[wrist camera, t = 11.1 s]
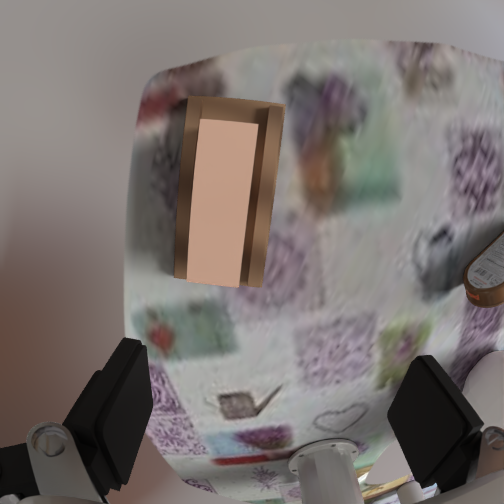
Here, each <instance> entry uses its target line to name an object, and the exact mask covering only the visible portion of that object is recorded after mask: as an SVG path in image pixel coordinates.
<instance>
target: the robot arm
mask: <svg viewBox="0 0 504 504" xmlns="http://www.w3.org/2000/svg"><path fill="white" fill-rule="evenodd" d="M152 409H153V398H152V390H151V383H150V374H149V366H148V356H147V347H146V346H145V345H142V343H141V341H140V340H136V339H131V338H123V339H122V340H121V342H120V343H119V345H118V346H117V348H116V349H115V351H114V352H113V354H112V356H111V357H110V359H109V360H108V362H107V363H106V365H105V367H104V368H103V370H102V371H101V370H98V371H96V372H95V373H94V374H93V376H92V377H91V379H90V380H89V382H88V384H87V385H86V387H85V388H84V390H83V391H82V393H81V394H80V396H79V398H78V399H77V401H76V402H75V404H74V406H73V407H72V409H71V410H70V412H69V414H68V415H67V417H66V419H65V420H64V422H63V424H62V425H61V424H59V423H55V422H43V423H40V424H38V425H36V426H34V427H33V428H32V429H31V430H30V432H29V433H28V436H27V443H23V444H18V445H14V446H9V447H4V448H0V504H109V502H108V500H107V498H106V496H105V495H107V494H108V493H109V490H110V488H111V489H114V490H117V491H120V488H121V485H122V484H124V485H126V484H127V483H128V480H129V477H130V474H131V471H132V468H133V465H134V462H135V459H136V456H137V453H138V450H139V447H140V444H141V441H142V438H143V435H144V433H145V430H146V427H147V424H148V421H149V418H150V415H151V412H152ZM387 416H388V420H389V422H390V425H391V427H392V429H393V431H394V433H395V435H396V438H397V440H398V442H399V444H400V446H401V449H402V451H403V453H404V455H405V458H406V460H407V462H408V465H409V467H410V469H411V472H412V474H413V476H414V479H415V481H416V482H417V483H419V484H420V486H421V489H423V488H426V487H429V486H432V485H434V484H435V483H437V489H436V492H435V494H434V497H431V498H428V499H425V500H422V501H419V502H416V503H413V504H504V430H503V429H502V428H500V427H497V426H489V427H487V428H486V429H485V430H484V431H483V432H481V430H480V429H481V428H482V427H483V425H484V422H483V421H482V420H481V418H480V417H479V415H478V414H477V413H476V411H475V410H474V409H473V407H472V406H471V405H470V403H469V402H468V401H467V399H466V398H465V397H464V395H463V394H462V393H461V391H460V390H459V389H458V387H457V386H456V385H455V384H454V382H453V381H452V380H451V378H450V377H449V376H448V375H447V373H446V372H445V371H444V370H443V368H442V367H441V366H440V365H439V363H438V362H437V361H436V360H435V358H434V357H433V356H432V355H423V356H417V357H416V358H415V360H413V361H412V362H411V364H410V366H409V369H408V371H407V373H406V375H405V377H404V380H403V382H402V384H401V386H400V388H399V390H398V392H397V394H396V396H395V398H394V400H393V402H392V404H391V406H390V408H389V410H388V414H387ZM358 454H359V451H358V447H357V445H356V444H355V443H354V442H352V441H350V440H345V439H330V440H324V441H319V442H316V443H312V444H310V445H307V446H305V447H303V448H301V449H299V450H298V451H296V452H295V453H294V454H293V455H292V456H291V457H290V459H289V461H288V468H289V470H290V472H291V473H293V474H295V475H297V476H299V483H300V490H301V497H302V504H364V500H363V497H362V493H361V490H360V486H359V482H358V479H357V475H356V472H355V468H354V465H353V462H354V461H355V460H356V459H357V457H358Z"/></svg>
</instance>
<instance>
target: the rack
mask: <svg viewBox="0 0 504 504" xmlns="http://www.w3.org/2000/svg"><path fill="white" fill-rule="evenodd" d="M285 106H286V105H285V104H278V103H271V102H263V101H254V100H245V99H234V98H222V97H206V96H188V102H187V110H186V117H185V126H184V134H183V143H182V153H181V163H180V174H179V186H178V200H177V215H176V234H175V259H174V278H179V279H187V262H188V244H189V229H190V215H191V202H192V190H193V180H194V169H195V160H196V150H197V142H198V133H199V125H200V119H211V120H223V121H234V122H244V123H253V124H259V125H258V132H257V140H256V148H255V156H254V164H253V172H252V180H251V188H250V197H249V205H248V213H247V221H246V230H245V238H244V246H243V255H242V263H241V272H240V281H239V285H244V286H250V287H262V281H263V274H264V267H265V260H266V253H267V246H268V238H269V231H270V224H271V216H272V209H273V201H274V194H275V186H276V178H277V170H278V163H279V155H280V147H281V139H282V131H283V122H284V114H285Z"/></svg>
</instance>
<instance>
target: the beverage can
mask: <svg viewBox="0 0 504 504" xmlns="http://www.w3.org/2000/svg"><path fill="white" fill-rule="evenodd" d="M397 495H398V497H399V500H400V503H401V504H413V503H416V502H419V501H422V500H425V496H424V494H423V491H422V489H421V486H420V484H419V483H417V482H416V481H410V482H407V483H405V484H403V485H402V486H401V487H399V489H398V491H397Z"/></svg>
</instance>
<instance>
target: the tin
mask: <svg viewBox="0 0 504 504" xmlns="http://www.w3.org/2000/svg"><path fill="white" fill-rule="evenodd" d="M463 281H464V286H465V289H466V295H467V298H468V300H469V301H470V302H471V303H472V304H473V305H475V306H478V307H482V308H491V307H496V306H499V305H501V304H503V303H504V231H503V232H502V233H501V234H500V235H499V236H498V237H497V238H496V239H495V240H494V241H493V242H492V243H491V244H490V245H489V246H488V247H487V248H485V249H484V250H483V251H482V252H481V253H480V254H479V255H478V256H477V257H476V258H474V259H473V260H472V261H471V262H470V263H469V265H468V266H467V267H466V269H465V272H464V276H463Z"/></svg>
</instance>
